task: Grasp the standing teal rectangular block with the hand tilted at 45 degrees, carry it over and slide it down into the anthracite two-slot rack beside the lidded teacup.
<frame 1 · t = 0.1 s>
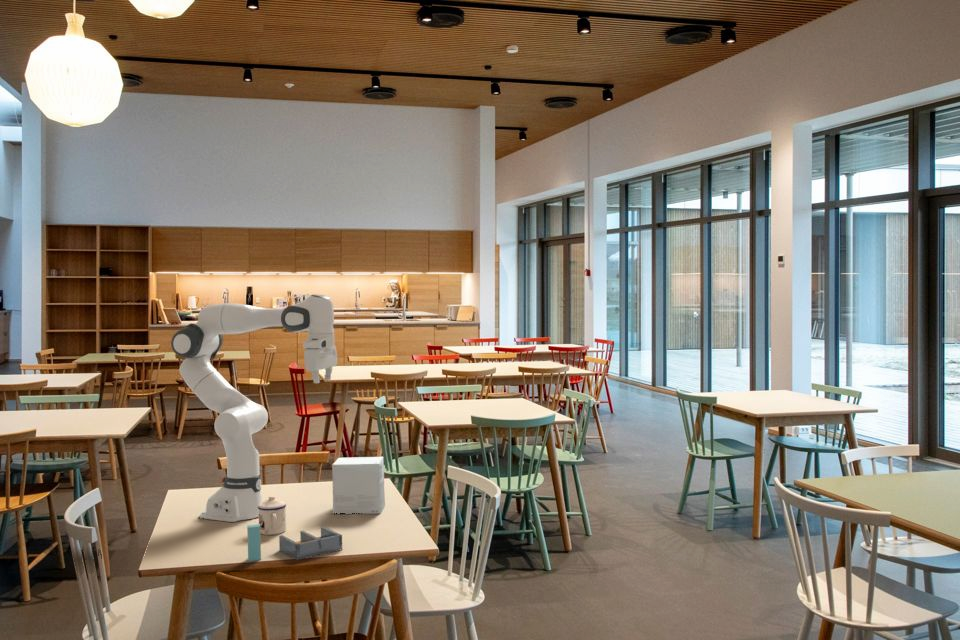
hand: (322, 381, 282), 48 cm above the table, tool pointing down, fingers open, 8 cm apart
teacup with lid: (273, 533, 268), on the table
supplement box: (359, 510, 295), on the table
teal rectangular block: (254, 559, 241), on the table
rack: (310, 550, 249), on the table
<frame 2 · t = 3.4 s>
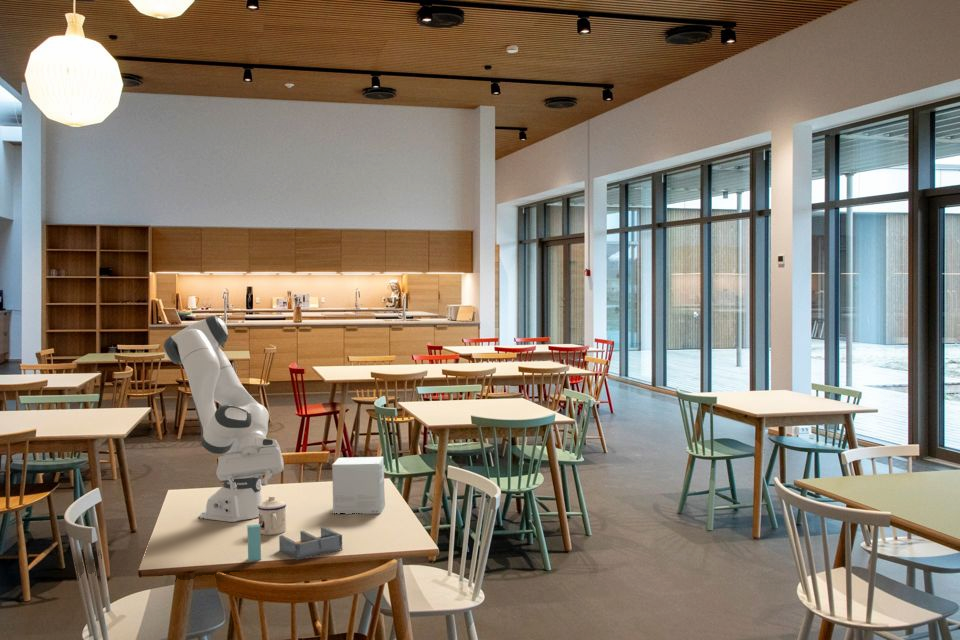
hand: (248, 486, 249), 20 cm above the table, tool tilted 45°, fingers open, 8 cm apart
nothing on the table moved.
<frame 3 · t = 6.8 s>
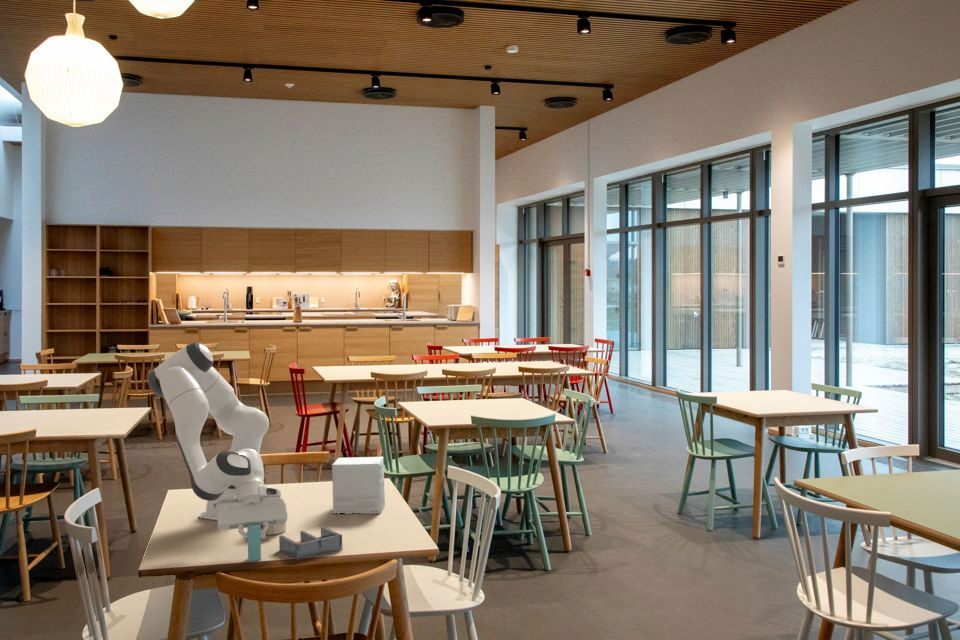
hand: (254, 538, 240), 6 cm above the table, tool tilted 45°, fingers closed on teal rectangular block, 3 cm apart
teal rectangular block: (254, 559, 241), on the table, touching gripper
everything else where it was.
when the fingers open (9 cm above the table, at t = 12.5 s): teal rectangular block drops 1 cm, resting on rack.
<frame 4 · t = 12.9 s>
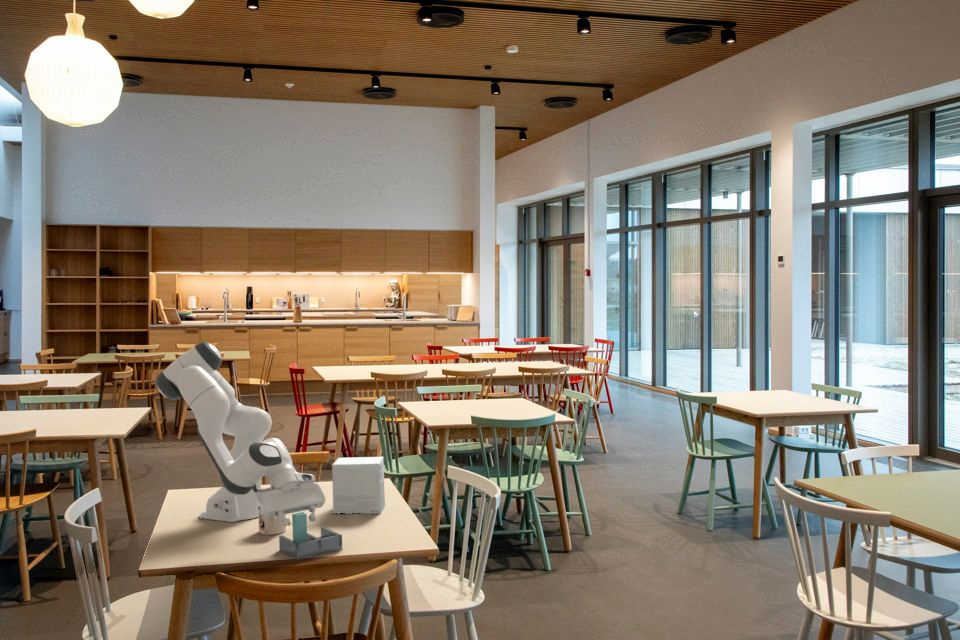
hand: (300, 522, 246), 9 cm above the table, tool tilted 45°, fingers open, 7 cm apart
teal rectangular block: (300, 546, 247), point 2 cm above the table, touching rack
everything else where it was.
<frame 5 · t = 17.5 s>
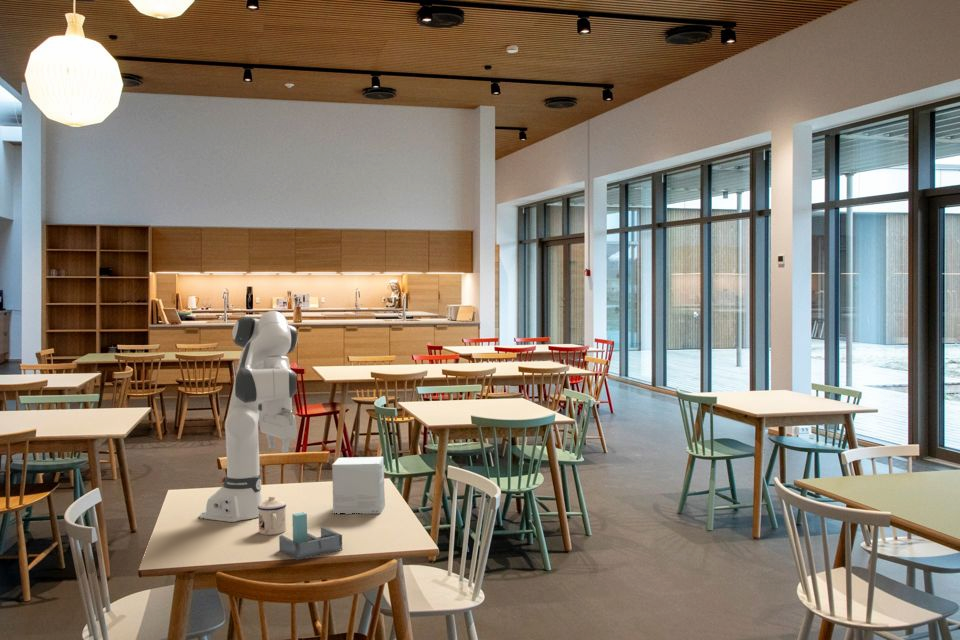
hand: (278, 450, 257), 29 cm above the table, tool pointing down, fingers open, 8 cm apart
nothing on the table moved.
at the end: teal rectangular block inside the target area on the rack (0.1 cm from its centre), point 1.7 cm above the rack's base; teal rectangular block tilted 0°; the gripper is holding nothing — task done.
